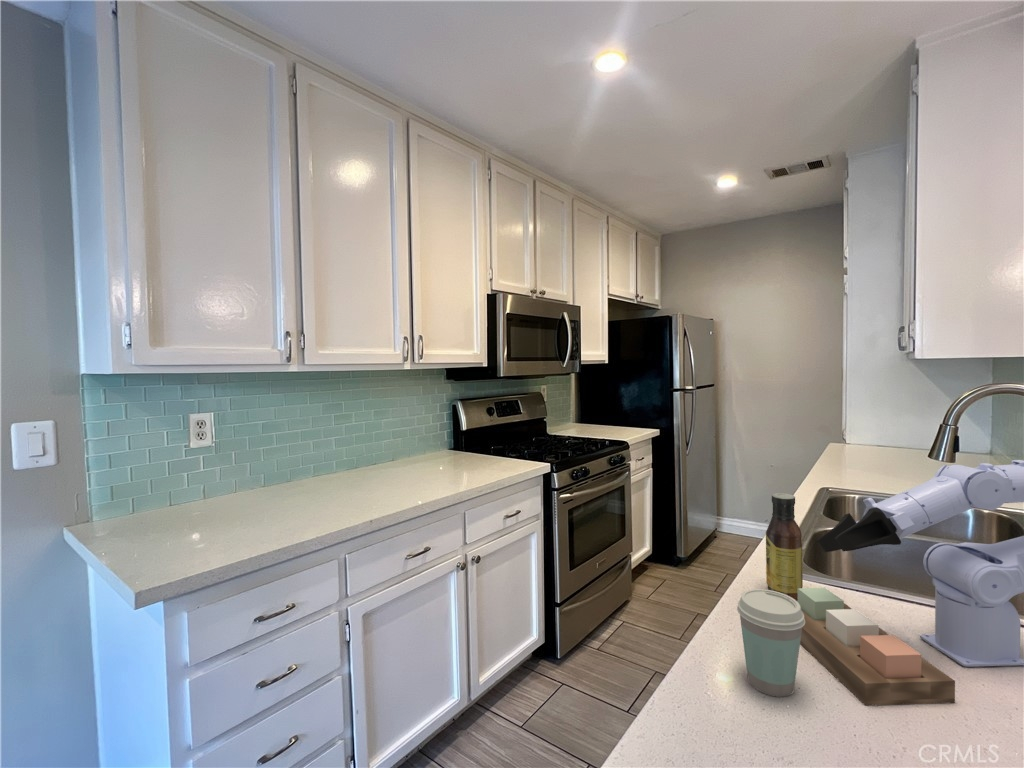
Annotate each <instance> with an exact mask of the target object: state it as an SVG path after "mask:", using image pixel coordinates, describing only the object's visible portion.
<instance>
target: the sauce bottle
mask: <svg viewBox="0 0 1024 768" xmlns="http://www.w3.org/2000/svg"><path fill="white" fill-rule="evenodd" d="M771 503H772V514H771V515H772V516H771V519H770V522H769V523H768V525H767V527H766V531H765V556H766V557H765V565H766V567H765V569H766V571H765V573H766V575H765V576H766V580H765V581H766V582H765V583H766V585H767V586H766V587H767V590H771V591H776V592H780V593H783V594H785V595H788V596H790V597H792V598H793V599H795V600H798V588H804V587H803V577H804V576H803V573H804V571H803V543H802V537H803V536H802V530H801V528H800V526H799V524H798V523H797V521H796V520H795V517H796V516H795V505H796V496H795V495H793V494H791V493H786V492H776V493H772V494H771Z"/></svg>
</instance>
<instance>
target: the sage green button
mask: <svg viewBox="0 0 1024 768" xmlns="http://www.w3.org/2000/svg"><path fill="white" fill-rule="evenodd" d="M797 602H798V603H799V604H800V607H801V610H803V611H804V612H805V613H806V614H807V615H809V616H810V617H811V618H812V619H813V620H826V610H838V609H844V603H845V601H844V600H843V599H842V598H840V597H839V596H838V595H836V594H835V593H834V592H831V591H830V590H829V589H828V588H826V587H803V588H798V599H797Z"/></svg>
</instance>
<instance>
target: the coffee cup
mask: <svg viewBox="0 0 1024 768" xmlns="http://www.w3.org/2000/svg"><path fill="white" fill-rule="evenodd" d="M736 610H737V613H738V614H739V617H740V619H739V620H740V627H741V635H742V641H743V650H744V651H743V652H744V658H745V666H746V667H745V668H746V673H747V681H748V682H749V683H750V685H751V686H752V687H753V688H754V689H756V690H757V691H759V692H761V693H763V694H765V695H768V696H773V697H778V698H779V697H782V698H784V697H788V696H790V695H792V694H793V693H794V691H795V690H794V689H795V682H796V679H797V678H796V676H797V669H798V662H799V654H800V646H801V644H800V640H801V632H802V627H803V626H804V625H805V619H804V614H803V612H802V610H801V607H800V604H799V603H798V600H797V599H793V598H792V597H790V596H788V595H785V594H783V593H780V592H776V591H771V590H768V589H766V588H765V589H763V588H756V589H748V590H745V591H743V592H742V593H741V596H740V598H739V600H738V601H737V606H736Z"/></svg>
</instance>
